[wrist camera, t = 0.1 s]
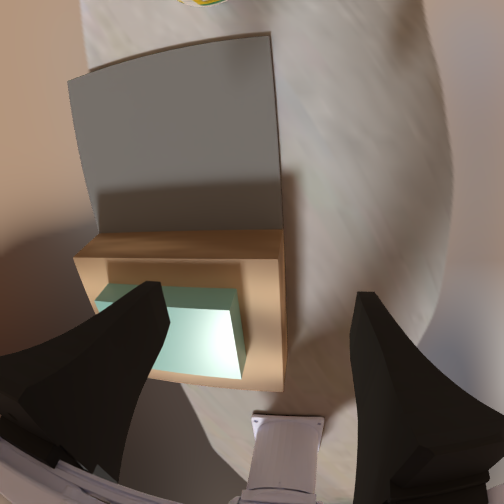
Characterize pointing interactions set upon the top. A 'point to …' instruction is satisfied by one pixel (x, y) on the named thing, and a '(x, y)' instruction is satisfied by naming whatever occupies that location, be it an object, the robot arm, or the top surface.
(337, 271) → the top surface
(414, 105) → the top surface
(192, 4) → the supplement bottle
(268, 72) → the mat
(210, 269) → the wooden block
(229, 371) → the mint green block
